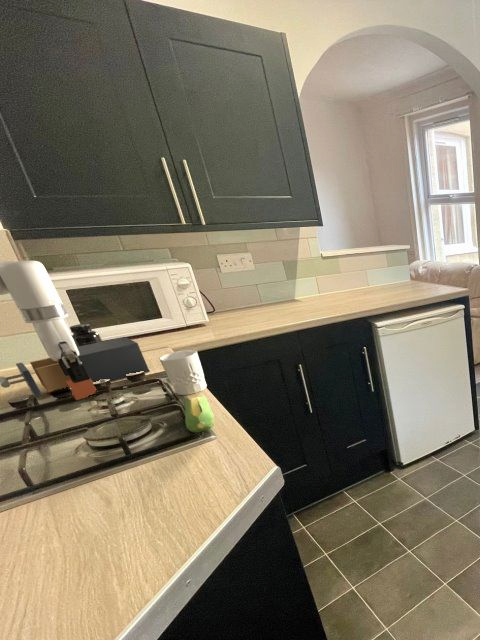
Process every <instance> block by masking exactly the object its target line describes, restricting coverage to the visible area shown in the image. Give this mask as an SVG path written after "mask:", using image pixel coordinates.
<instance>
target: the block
mask: <svg viewBox="0 0 480 640" xmlns="http://www.w3.org/2000/svg"><path fill="white" fill-rule="evenodd" d="M65 383H66V385H67V387H69V388H72V393H73V396H74V397H75V398H74V397H73V396H72V397H73V398H74V400H76V401H79V400H83V399H85V398H86V397H87V398H89V397H88V396H89V395H92V394H94V393H95V391H96V390H97V388H96V386H94V384H93V382H92V380H91V379H89V380H85V381H82V382H78V383H73V382H72V380H69V381H65ZM69 388H68V389H69Z"/></svg>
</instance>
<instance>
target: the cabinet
mask: <svg viewBox="0 0 480 640" xmlns="http://www.w3.org/2000/svg"><path fill="white" fill-rule="evenodd" d="M77 349H78V351H79V354H80V355H79V356H78V358H79V360H80V362H81V363H82V364H83V365H84V367H85V369H86V371H87V373H88V375H89V377H90V379H91V380H92V382H96V381H99V380H100V379H110V381H111V382H116V381H120V380H123V379H127V378H126V374H129V373H136V372H140V371H144V372H145V373H144V374H146V373H149V372H150V369H149V367H148V364H147V362H146V360H145V357H144V355H143V353H142V350H141V348H140V346H139V343H138V342H137V341H135V340H132V339H130V338H128V337H126V336H122V337H117V338H113V339H107V340H104V341H103V340H102V342H98V343H93V344H88V345H84V346H79V347H77ZM111 382H110V383H111Z"/></svg>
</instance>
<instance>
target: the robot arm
mask: <svg viewBox="0 0 480 640" xmlns="http://www.w3.org/2000/svg"><path fill="white" fill-rule="evenodd" d="M3 295H10V297H11V298H12V300H13V302H14V304H15V305H16V308H17V309H18V311H19V314H20V316H21V317H22V319H23V320H24V322H25V323H26V324H32V325H33V328H34V330H35V333H36V335H37V337H38V339H39V341H40V342H41V344H42V346H43V348H44V350H45V353H46V354H47V357H48V358H51V359H52V360H53V361H59V362H58V363H59V365H60V367H61V369H62V371H63V372H64V374H65V375H66V376H70V378H71V380H72V382H73V383H78V382H82V381H85V380H89V379H90V377H89V375H88V373H87V371H86V369H85V367H84V365H83V364H82V363H81V362H80V360H79V358H78V356H79V355H80V354H79V351H78V349H77V346H76V344H75V342H74V340H73V338H72V335H73V334H71V333H72V332H71V330H70V328H68V327H69V326H67V324H66V322H65V320H64V319H65V318H67V317H69V314H68V312H67V309H66V308H65V305H64V303H63V302H62V300H61V298H60V295H59V293H58V291H57V289H56V287H55V286H54V283H53V281H52V280H51V277H50V275H49V273H48V271H47V269H46V267H45V266H44V265H43V263H42V262H41V261H37V260H18V261H13V260H0V296H3ZM57 359H58V360H57Z"/></svg>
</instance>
